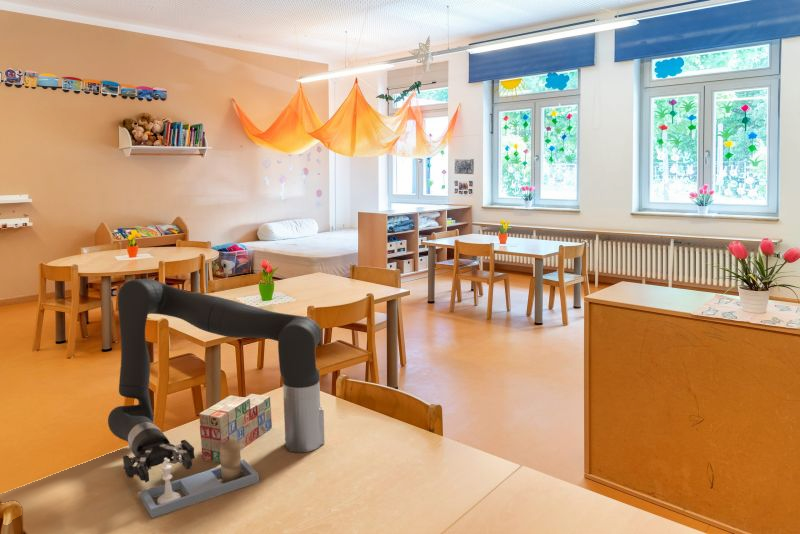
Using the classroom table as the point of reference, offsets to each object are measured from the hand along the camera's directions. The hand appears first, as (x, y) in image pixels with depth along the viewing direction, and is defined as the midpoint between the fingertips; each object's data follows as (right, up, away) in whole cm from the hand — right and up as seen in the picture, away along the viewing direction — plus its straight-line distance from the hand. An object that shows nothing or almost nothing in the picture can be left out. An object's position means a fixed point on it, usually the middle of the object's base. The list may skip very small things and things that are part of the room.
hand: (168, 471), depth 128 cm
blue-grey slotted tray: (+5, -6, +6) cm, 10 cm away
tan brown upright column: (+11, -6, +10) cm, 16 cm away
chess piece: (-1, -7, +2) cm, 8 cm away
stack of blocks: (+7, -3, +29) cm, 30 cm away
